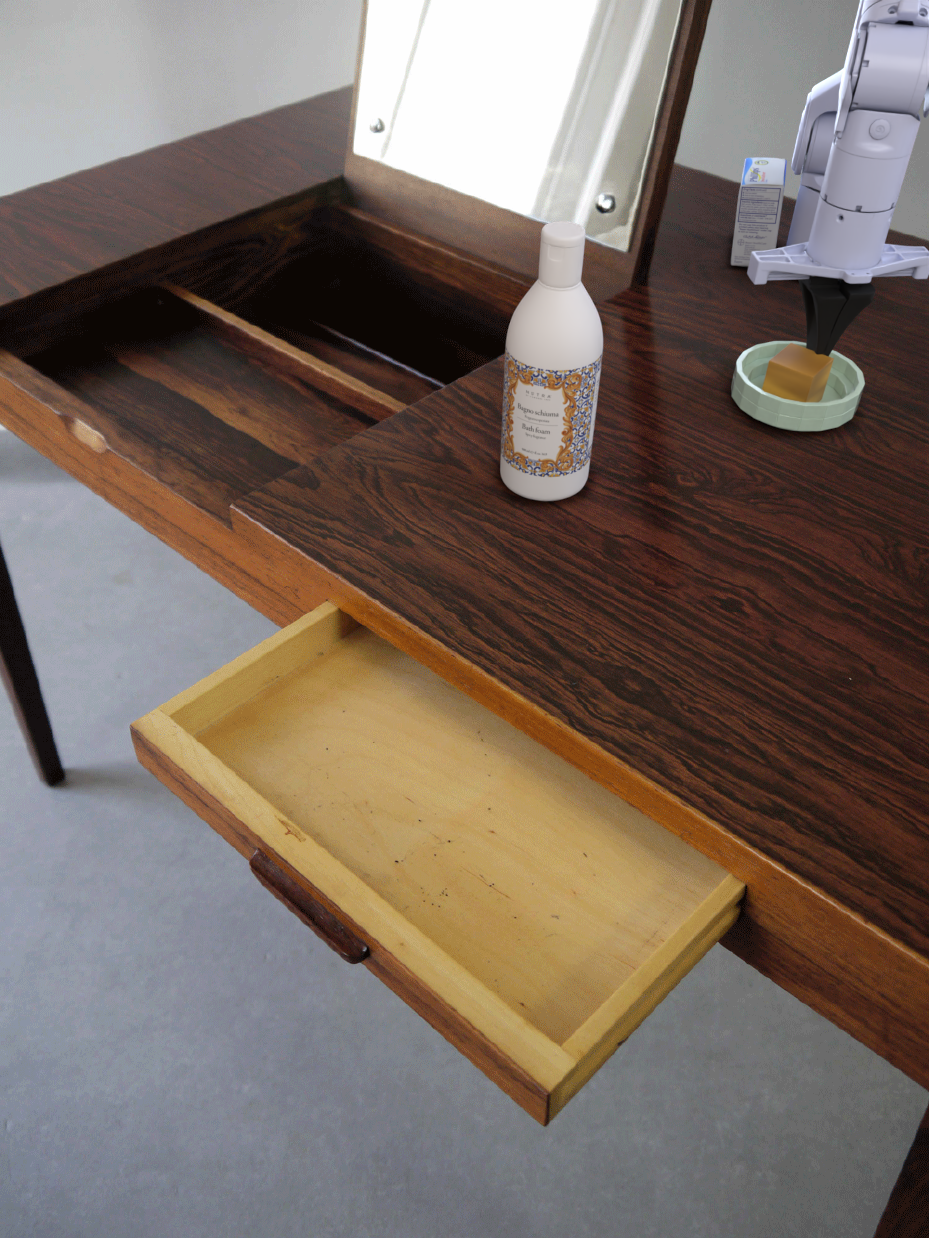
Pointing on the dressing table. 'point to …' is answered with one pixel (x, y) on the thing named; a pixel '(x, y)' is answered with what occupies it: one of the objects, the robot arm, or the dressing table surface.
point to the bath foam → (552, 375)
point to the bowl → (793, 414)
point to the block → (797, 374)
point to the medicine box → (758, 208)
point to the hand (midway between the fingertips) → (815, 357)
